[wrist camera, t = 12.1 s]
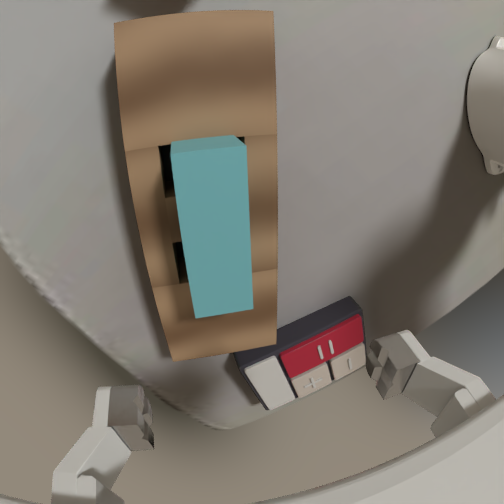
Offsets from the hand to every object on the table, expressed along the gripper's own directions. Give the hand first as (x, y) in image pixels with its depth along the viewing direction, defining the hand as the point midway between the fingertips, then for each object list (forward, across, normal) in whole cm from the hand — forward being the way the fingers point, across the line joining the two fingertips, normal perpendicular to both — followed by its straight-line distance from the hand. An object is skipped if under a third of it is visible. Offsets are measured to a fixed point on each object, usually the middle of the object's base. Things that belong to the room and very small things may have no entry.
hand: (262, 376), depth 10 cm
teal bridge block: (+18, 0, 0) cm, 18 cm away
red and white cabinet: (+19, -9, +21) cm, 30 cm away
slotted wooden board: (+18, 0, 0) cm, 19 cm away
